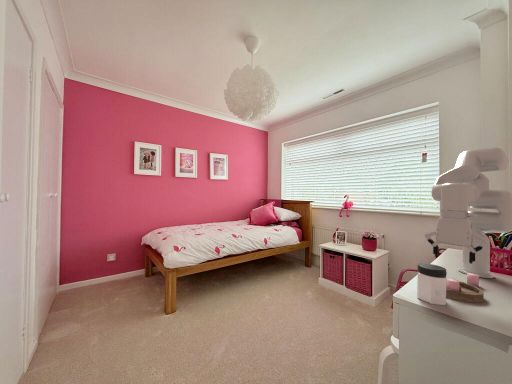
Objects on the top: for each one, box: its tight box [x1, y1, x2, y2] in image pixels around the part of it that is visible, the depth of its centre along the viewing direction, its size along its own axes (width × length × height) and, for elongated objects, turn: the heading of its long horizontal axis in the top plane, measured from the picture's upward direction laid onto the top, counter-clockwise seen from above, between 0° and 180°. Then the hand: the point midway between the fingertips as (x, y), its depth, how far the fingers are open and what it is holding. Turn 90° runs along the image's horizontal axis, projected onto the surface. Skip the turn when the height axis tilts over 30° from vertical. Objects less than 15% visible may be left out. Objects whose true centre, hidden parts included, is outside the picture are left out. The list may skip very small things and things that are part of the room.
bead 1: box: [446, 278, 459, 292], centre depth 80 cm, size 4×4×4 cm
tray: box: [446, 280, 485, 304], centre depth 83 cm, size 16×16×3 cm
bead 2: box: [466, 273, 480, 288], centre depth 91 cm, size 4×4×4 cm
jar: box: [416, 262, 448, 306], centre depth 76 cm, size 9×8×12 cm
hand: (453, 259), depth 80 cm, fingers open, 9 cm apart
